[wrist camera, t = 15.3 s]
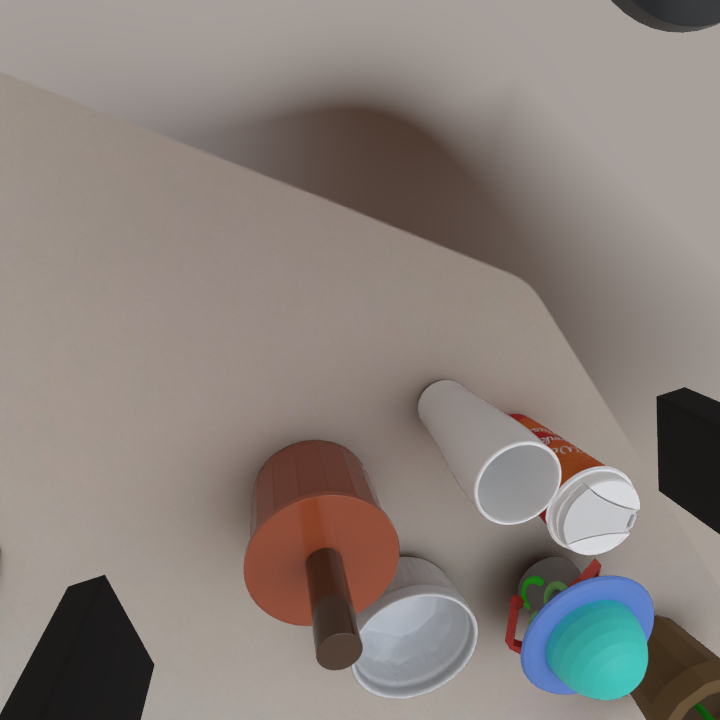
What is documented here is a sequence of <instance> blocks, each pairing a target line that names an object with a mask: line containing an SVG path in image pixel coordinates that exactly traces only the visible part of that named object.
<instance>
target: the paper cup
mask: <svg viewBox="0 0 720 720" xmlns="http://www.w3.org/2000/svg"><path fill="white" fill-rule="evenodd" d="M509 416H510V417H512V418H514V419H515V420H517V421H518V422H519V423H521V424H522V425H524V426H525V427H526V428H527V429H529V430H530V431H531V432H532V433H534V434H535V435H536V436H537V437H538V438H539V439H541V440H542V441H543V442H544V443H545V444H546V445H547V446H548V447H549V448H550V449H551V450H552V451H553V452H554V453H555V454H556V456H557V457H558V460H559V462H560V465H561V483H560V486H559V489H558V492H557V494H556V496H555V497H554V499H553V501H552V502H551V503H550V504H549V506H548V507H547V508H546V509H545V510H544V511H543V512H541V513H540V514H539V516H540V517H541V518H542V520H543V521H544V522H545V523H546V525H547V526H548V531H549V533H550V535H551V537H552V538H553V539H554V541H556V542H557V543H558V544H559V545H561V546H562V547H564V548H567V549H571V550H572V551H574V552H576V553H579V554H583V555H596V554H601V553H604V552H607V551H609V550H611V549H613V548H614V547H616V546H617V545H619V544H620V543H621V542H622V541H623V540H625V539H626V538H627V536H628V535H629V534H630V533H629V528H632V527H633V525H634V522H635V520H636V518H637V515H636V512H637V510H640V501H639V497H638V494H637V492H636V491H635V489H634V488H633V486H632V483H631V481H630V480H629V478H628V477H627V476H626V475H625V474H624V473H623V472H621V471H620V470H618V469H616V468H613V467H608V466H605V465H603V464H602V463H600V462H599V461H597V460H596V459H594V458H592V457H591V456H589V455H588V454H586V453H585V452H583V451H582V450H580V449H578V448H577V447H575V446H574V445H572V444H571V443H569V442H567V441H566V440H564V439H563V438H561V437H560V436H558V435H556V434H555V433H553V432H552V431H550V430H548V429H547V428H545V427H544V426H542V425H540V424H539V423H537V422H535V421H534V420H532V419H530V418H528V417H527V416H524V415H520V414H513V415H509Z"/></svg>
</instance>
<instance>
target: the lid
mask: <svg viewBox="0 0 720 720" xmlns="http://www.w3.org/2000/svg"><path fill="white" fill-rule="evenodd" d="M398 561H399V541H398V537H397V534H396V531H395V528H394V526H393V524H392V522H391V520H390V519H389V518H388V516H387V515H386V513H385V512H384V511H383V510H382V509H381V508H380V507H378V506H377V505H375V504H374V503H373V502H371V501H369V500H367V499H365V498H363V497H361V496H358V495H355V494H351V493H347V492H339V491H323V492H316V493H311V494H307V495H303V496H300V497H298V498H295V499H293V500H291V501H289V502H287V503H285V504H283V505H281V506H280V507H278V508H277V509H275V510H274V511H273V512H272V513H270V514H269V515H268V516H267V517H266V518H265V519H264V520H263V521H262V522H261V523H260V524H259V526H258V527H257V529H256V530H255V531H254V533H253V535H252V537H251V538H250V540H249V543H248V545H247V548H246V552H245V557H244V580H245V583H246V587H247V589H248V591H249V594H250V596H251V597H252V599H253V600H254V601H255V603H256V604H257V605H258V606H259V607H260V608H261V609H262V610H263V611H265V612H266V613H267V614H269V615H270V616H272V617H274V618H276V619H278V620H280V621H283V622H286V623H289V624H293V625H300V626H312V627H313V635H314V643H315V652H316V658H317V661H318V663H319V664H320V665H321V666H322V667H324V668H326V669H329V670H341V669H345V668H347V667H349V666H351V665H353V664H354V663H355V662H356V661H357V660H358V659H359V658H360V656H361V654H362V651H363V644H362V640H361V635H360V631H359V627H358V622H357V618H356V614H358V613H360V612H362V611H363V610H365V609H366V608H368V607H369V606H370V605H371V604H373V603H374V602H375V601H376V600H377V599H378V598H379V597H380V596H381V595H382V594H383V593H384V591H385V590H386V589H387V587H388V586H389V584H390V583H391V581H392V579H393V577H394V575H395V572H396V569H397V566H398Z"/></svg>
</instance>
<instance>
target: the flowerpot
mask: <svg viewBox="0 0 720 720" xmlns="http://www.w3.org/2000/svg"><path fill="white" fill-rule="evenodd" d="M647 647H648V664H647V668H646V672H645V675H644V677H643V679H642V681H641V682H640V684H639V685H638V686H637V687H636V688H635V689H634V690H633V691H632V692H631V693H630V694H631V695H632V697H633V699H634V700H635V702H636V704H637V705H638V707H639V708H640V710H641V712H642V713H643V715H644V716H645V718H646V720H720V658H719V657H718V656H716V655H715V654H714V653H713V652H711V651H710V650H709V649H708V648H706V647H705V646H704V645H703V644H701V643H700V642H699V641H698V640H696V639H695V638H694V637H693V636H691V635H690V634H689V633H687V632H686V631H685V630H684V629H682V628H681V627H680V626H679V625H677V624H676V623H675V622H674V621H672V620H671V619H669V618H664V617H660V616H654V623H653V628H652V631H651V634H650V637H649V639H648V641H647Z"/></svg>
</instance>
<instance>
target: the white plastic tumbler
mask: <svg viewBox="0 0 720 720" xmlns="http://www.w3.org/2000/svg"><path fill="white" fill-rule="evenodd" d="M418 414H419V417H420V419H421V421H422V423H423V424H424V425H425V427H426V428H427V430H428V431H429V433H430V435H431V437H432V438H433V440H434V442H435V444H436V446H437V447H438V449H439V451H440V453H441V455H442V457H443V458H444V460H445V462H446V464H447V466H448V468H449V470H450V471H451V473H452V475H453V477H454V478H455V480H456V481H457V483H458V485H459V486H460V487H461V489H462V490H463V492H464V493H465V494H466V496H467V497H468V498H469V500H470V501H471V502H472V503H473V504H474V506H475V507H476V508H477V509H478V510H479V512H480V513H481V514H482V515H483V516H484V517H485V518H487V519H488V520H490V521H492V522H494V523H497V524H502V525H514V524H520V523H523V522H526V521H528V520H530V519H532V518H534V517H536V516H537V515H539V514H540V513H541V512H543V511H544V510H545V509H546V508H547V507H548V506H549V504H550V503H551V502H552V501H553V499H554V497H555V496H556V494H557V492H558V489H559V486H560V483H561V465H560V462H559V460H558V457H557V456H556V454H555V453H554V452H553V451H552V450H551V449H550V448H549V447H548V446H547V445H546V444H545V443H544V442H543V441H542V440H541V439H539V438H538V437H537V436H536V435H535V434H534V433H532V432H531V431H530V430H529V429H527V428H526V427H525V426H524V425H522V424H521V423H519V422H518V421H517V420H515V419H514V418H512V417H510V416H509V415H507V414H506V413H504V412H502V411H501V410H499V409H497V408H496V407H494V406H492V405H491V404H489V403H488V402H486V401H484V400H483V399H481V398H479V397H478V396H476V395H475V394H473V393H472V392H470V391H469V390H467V389H466V388H465V387H464V386H462V385H461V384H459V383H458V382H455V381H452V380H441V381H437V382H435V383H433V384H431V385H430V386H428V387H427V388H426V389H425V390H424V392H423V393H422V395H421V397H420V399H419V402H418Z"/></svg>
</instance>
